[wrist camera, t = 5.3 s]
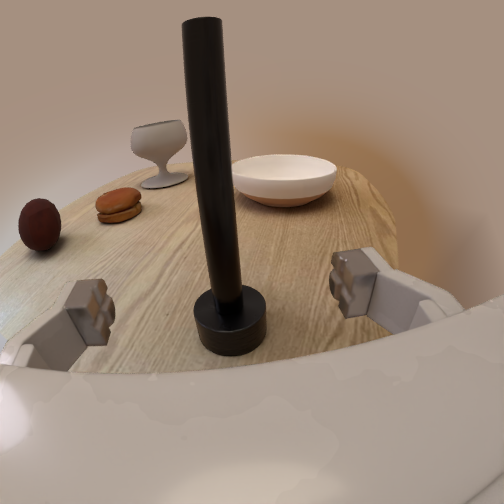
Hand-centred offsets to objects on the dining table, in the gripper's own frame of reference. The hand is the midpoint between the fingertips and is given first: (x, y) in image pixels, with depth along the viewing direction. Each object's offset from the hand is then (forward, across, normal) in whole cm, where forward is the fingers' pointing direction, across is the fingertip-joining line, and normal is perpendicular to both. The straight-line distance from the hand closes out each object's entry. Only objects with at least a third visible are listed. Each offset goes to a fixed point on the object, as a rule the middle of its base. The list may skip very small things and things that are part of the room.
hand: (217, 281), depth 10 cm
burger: (+42, +20, +13) cm, 49 cm away
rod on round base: (+10, 0, +13) cm, 16 cm away
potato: (+32, +32, +13) cm, 48 cm away
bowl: (+42, -12, +13) cm, 45 cm away
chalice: (+62, +13, +13) cm, 64 cm away
